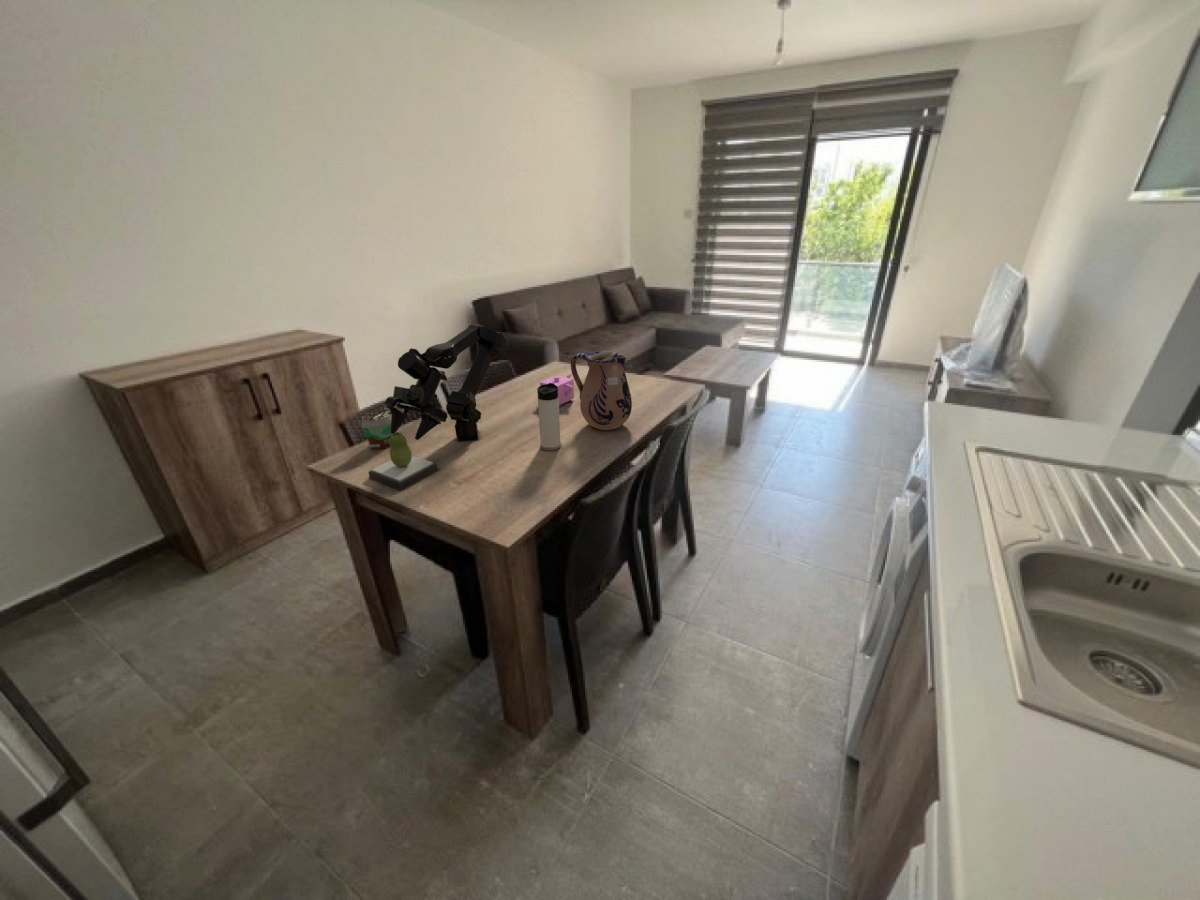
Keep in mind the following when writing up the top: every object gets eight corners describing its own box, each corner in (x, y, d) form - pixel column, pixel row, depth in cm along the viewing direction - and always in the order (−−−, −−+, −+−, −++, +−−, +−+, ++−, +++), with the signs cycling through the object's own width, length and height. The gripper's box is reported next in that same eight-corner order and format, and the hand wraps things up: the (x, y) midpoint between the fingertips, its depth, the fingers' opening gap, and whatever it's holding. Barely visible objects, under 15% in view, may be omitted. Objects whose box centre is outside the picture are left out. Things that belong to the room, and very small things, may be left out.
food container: (385, 452, 148) (378, 423, 144) (368, 451, 149) (360, 421, 145) (407, 436, 159) (402, 408, 154) (391, 434, 160) (384, 407, 156)
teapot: (559, 391, 198) (558, 367, 193) (587, 397, 191) (587, 373, 186) (531, 405, 184) (529, 379, 179) (560, 412, 177) (559, 386, 173)
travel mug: (564, 443, 154) (561, 383, 145) (555, 452, 148) (552, 390, 139) (546, 440, 156) (542, 381, 147) (537, 449, 150) (533, 388, 141)
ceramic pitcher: (628, 437, 157) (629, 363, 146) (565, 433, 161) (562, 360, 149) (633, 417, 173) (635, 348, 161) (577, 413, 176) (575, 346, 165)
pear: (414, 460, 138) (407, 428, 134) (412, 468, 134) (406, 436, 129) (393, 462, 137) (386, 430, 132) (391, 471, 132) (384, 438, 128)
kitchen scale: (407, 459, 144) (405, 451, 143) (437, 469, 138) (436, 461, 137) (369, 478, 134) (367, 470, 133) (400, 490, 128) (398, 481, 127)
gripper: (382, 369, 134) (358, 419, 130) (433, 378, 126) (409, 431, 123) (409, 387, 144) (387, 434, 140) (457, 396, 136) (436, 446, 133)
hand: (404, 436), depth 133 cm, fingers open, 9 cm apart
